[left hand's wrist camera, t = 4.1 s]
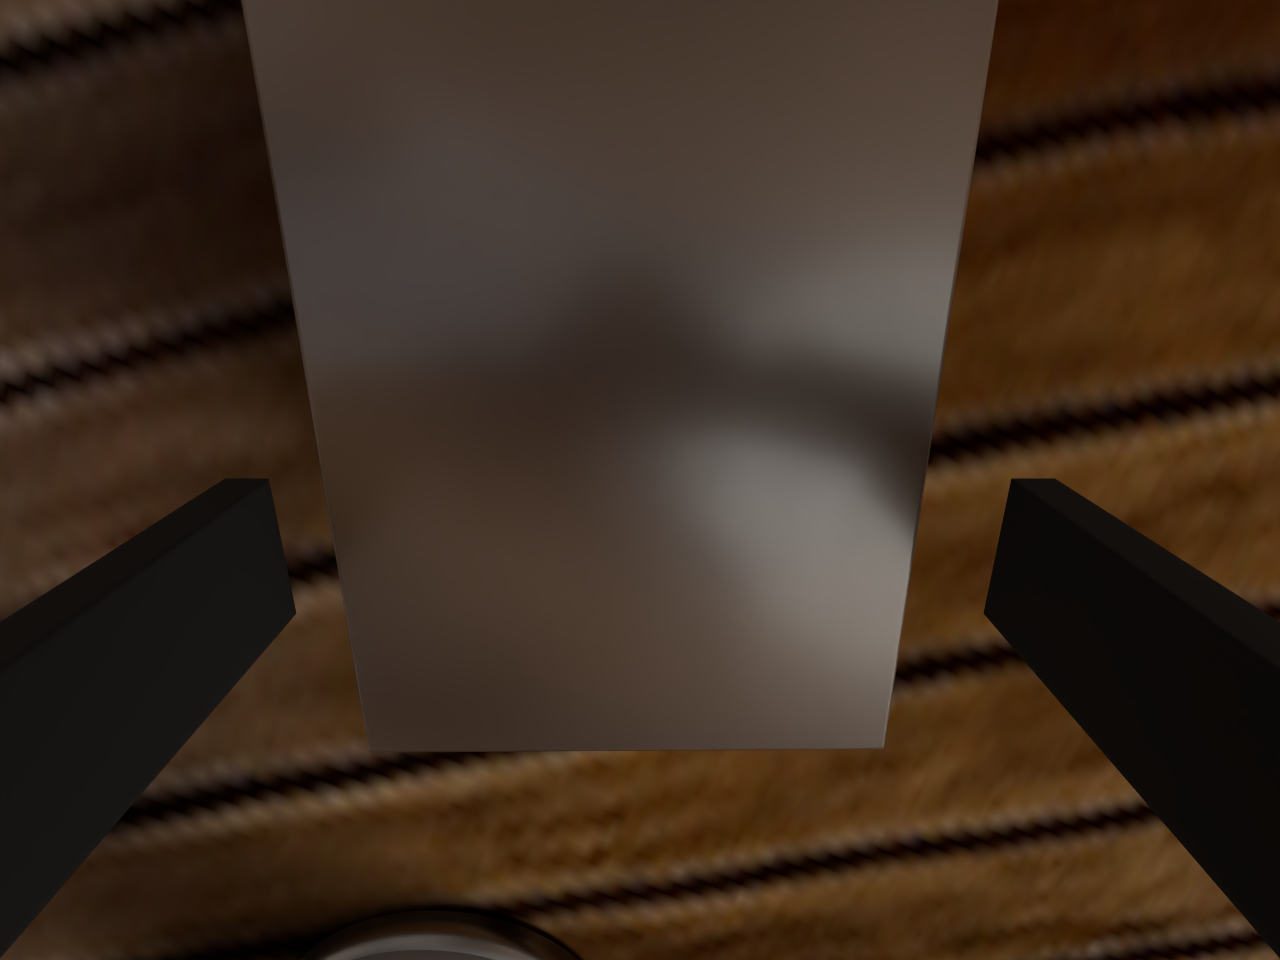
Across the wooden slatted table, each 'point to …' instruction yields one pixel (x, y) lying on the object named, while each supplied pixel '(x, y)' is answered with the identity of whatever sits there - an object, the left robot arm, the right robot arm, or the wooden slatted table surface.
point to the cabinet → (622, 351)
